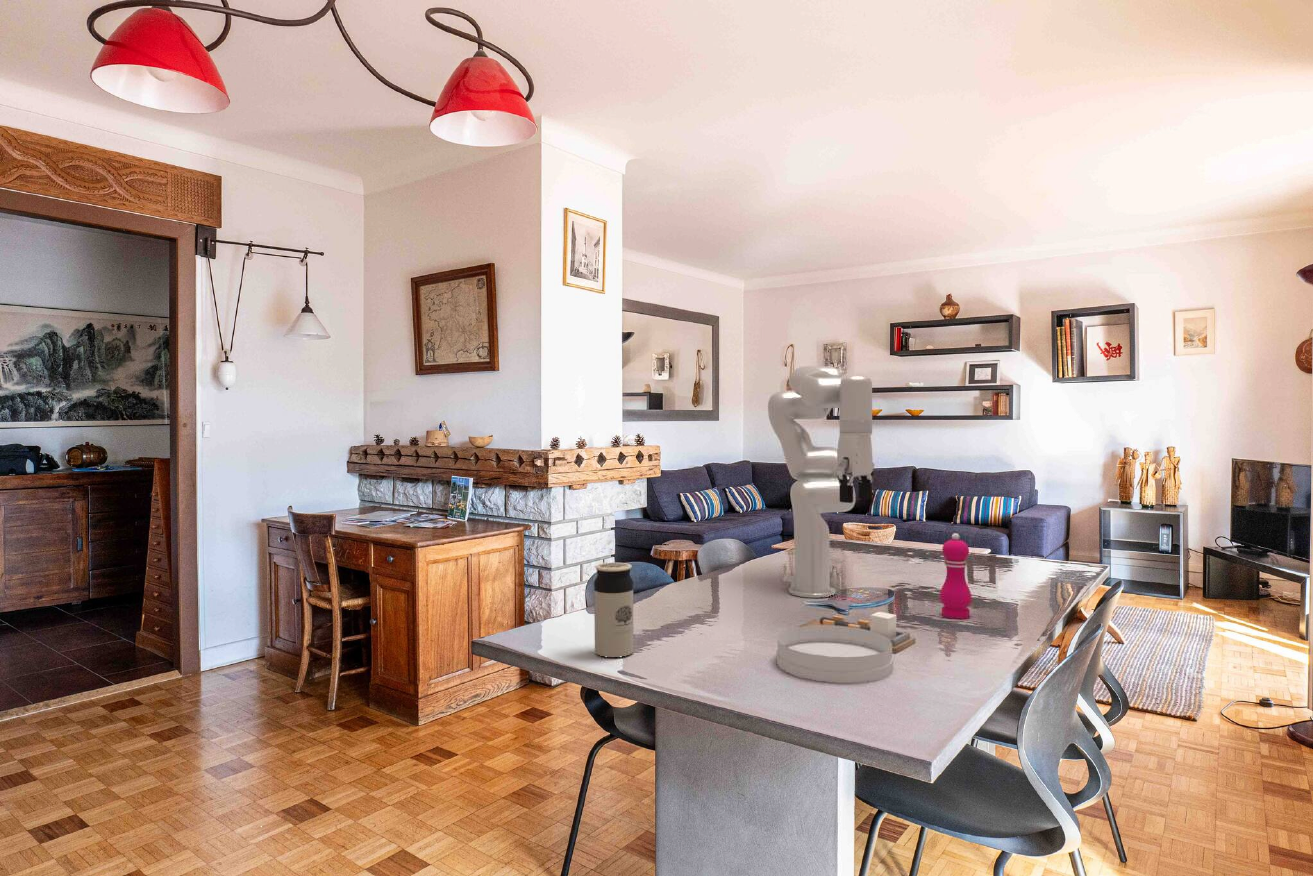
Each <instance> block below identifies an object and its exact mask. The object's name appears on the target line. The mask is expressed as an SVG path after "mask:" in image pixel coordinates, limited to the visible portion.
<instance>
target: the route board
mask: <svg viewBox="0 0 1313 876" xmlns="http://www.w3.org/2000/svg"><path fill="white" fill-rule="evenodd" d="M819 620H820V619H813V620H810V621H808V622H805V623H803V624H801V625H798V626H795V627H794V628H796V627H803V626H813V625H822V624H820V621H819ZM915 644H916V637H912V636H910V639H908V640H906V641H905V642H903V643H901V644H899V645H897V646H892V654H898V653H900V652H901V651H903V650H905V649H906V648H908V647H910V646H912V645H915Z"/></svg>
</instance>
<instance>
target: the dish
mask: <svg viewBox="0 0 1313 876" xmlns="http://www.w3.org/2000/svg"><path fill="white" fill-rule="evenodd" d="M795 627H796V628H795ZM795 627H793V628H789V629H785V630H784V631H782V632H780V633H779V634H778V635H777V649H776V665H777V664H778V665H779V666H778V665H777V666H778V668H779V669H780V670H782V669H783V671H784V670H785V671H784V672H785V673H787V672H789V673H790V675H792V674H794V675H793V676H795V677H798V678H801V679H805V678H807V679H806V680H810V679H812V680H811V681H814V680H816V682H822V681H826V682H825V683H829V682H836V683H835V684H860V683H861V682H863V683H867V681H869V682H875V681H878V680H882V679H884V678H887V677H888V676H890V675H891V674H892V672H893V669H894V658H893V655H892V654H893V653H892V643H891V641H890V640H889V639H888V638H886V637H885V636H883V635H881V634H878V633H876V632H872V631H869V630H865V629H860V628H854V627H846V626H834V625H813V626H803V627H798V626H795ZM789 673H788V674H789ZM855 682H856V683H855ZM861 684H862V683H861Z"/></svg>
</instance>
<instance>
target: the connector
mask: <svg viewBox="0 0 1313 876" xmlns="http://www.w3.org/2000/svg"><path fill="white" fill-rule="evenodd" d="M818 620H819V621H820V624H822V625H823V620H830V621H835V626H846V627H848V625H849V624H852V625H858V626H860V629H865V630H869V631H872V632H876V633H878V634H881V635H883V636H885V637H886V638H891V639H893V638H895V637H896V631H897V614H893V613H888V612H884V611H877V612H875V613H873V614H870V621H869V622H870V626H865V625H860V624H858V623H854V622H850V621H846V620H845V621H841V620H836V619H833V617H832V618H831V617H827V616H822V617H820V618H819V619H818Z"/></svg>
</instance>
